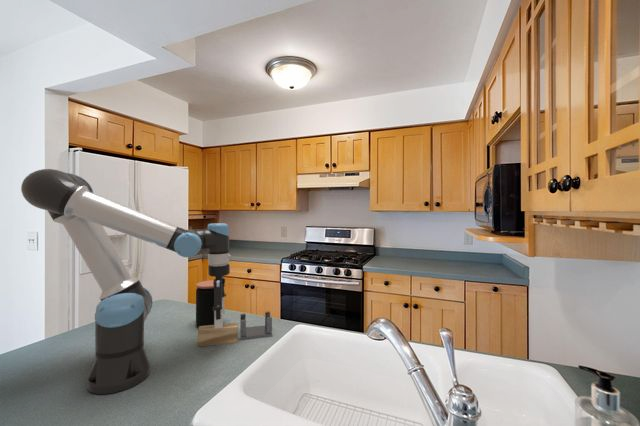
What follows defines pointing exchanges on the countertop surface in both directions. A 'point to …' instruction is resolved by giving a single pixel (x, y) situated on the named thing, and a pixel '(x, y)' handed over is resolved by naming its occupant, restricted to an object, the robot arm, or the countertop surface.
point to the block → (217, 334)
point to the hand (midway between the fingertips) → (219, 320)
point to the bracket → (255, 328)
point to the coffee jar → (204, 303)
